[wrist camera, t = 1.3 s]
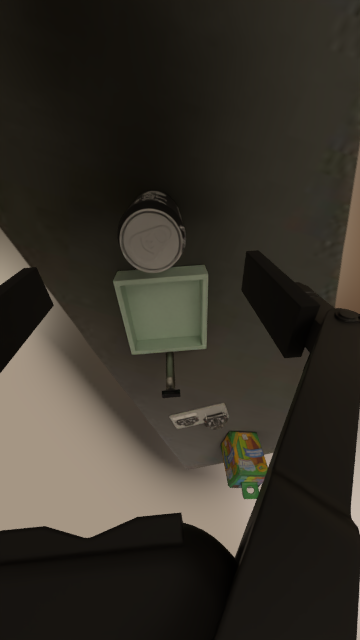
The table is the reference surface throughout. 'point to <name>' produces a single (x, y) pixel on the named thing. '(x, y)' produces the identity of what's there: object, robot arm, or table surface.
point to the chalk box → (244, 462)
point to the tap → (170, 378)
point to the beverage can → (152, 232)
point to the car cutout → (202, 417)
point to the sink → (164, 308)
